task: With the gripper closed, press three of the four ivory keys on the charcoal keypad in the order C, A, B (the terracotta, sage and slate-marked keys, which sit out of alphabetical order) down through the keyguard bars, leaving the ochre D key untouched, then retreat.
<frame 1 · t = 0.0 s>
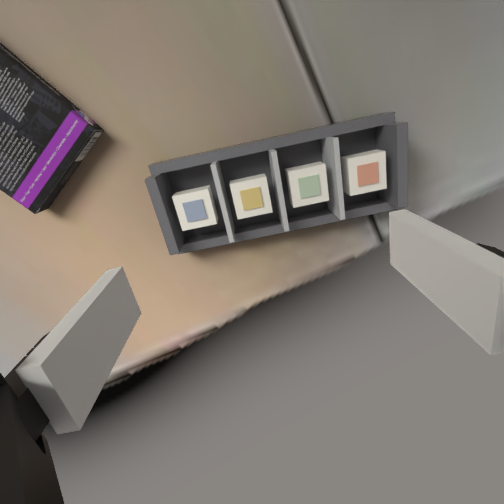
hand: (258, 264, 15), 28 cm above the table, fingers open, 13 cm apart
keypad: (275, 184, 41), on the table
key a: (307, 184, 37), point 4 cm above the table, slide at 0.0 cm
box: (7, 115, 37), on the table
key d: (251, 196, 37), point 4 cm above the table, slide at 0.0 cm
key b: (196, 208, 38), point 4 cm above the table, slide at 0.0 cm
key c: (363, 172, 37), point 4 cm above the table, slide at 0.0 cm
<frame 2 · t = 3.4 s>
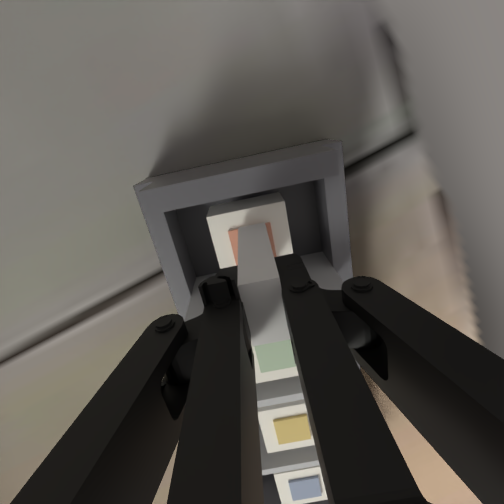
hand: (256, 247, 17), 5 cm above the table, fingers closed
keypad: (275, 340, 25), on the table
key a: (273, 341, 20), point 4 cm above the table, slide at 0.0 cm
key d: (289, 414, 23), point 4 cm above the table, slide at 0.0 cm
key b: (302, 471, 25), point 4 cm above the table, slide at 0.0 cm
key c: (252, 238, 18), point 3 cm above the table, slide at 1.1 cm, touching gripper
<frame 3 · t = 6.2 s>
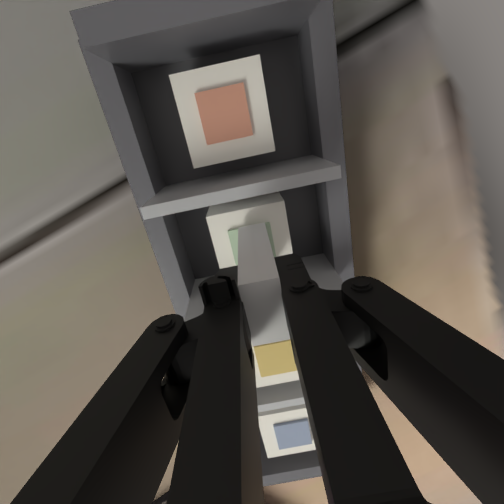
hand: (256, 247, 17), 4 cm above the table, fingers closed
keypad: (259, 268, 22), on the table
key a: (251, 238, 18), point 3 cm above the table, slide at 1.5 cm, touching gripper
key d: (274, 344, 20), point 4 cm above the table, slide at 0.0 cm
key b: (290, 418, 22), point 4 cm above the table, slide at 0.0 cm
key c: (225, 115, 16), point 2 cm above the table, slide at 1.9 cm
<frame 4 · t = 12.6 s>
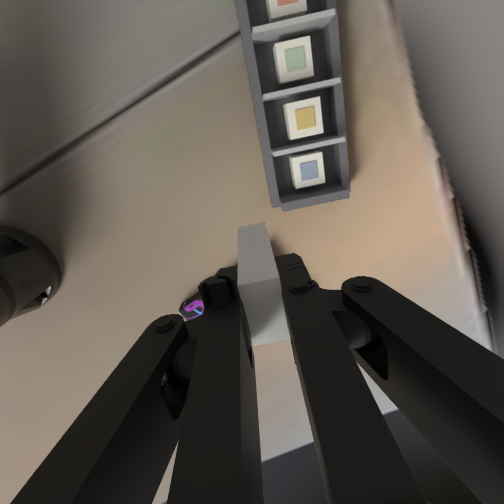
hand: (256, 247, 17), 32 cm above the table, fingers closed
keypad: (294, 93, 43), on the table
key a: (293, 61, 39), point 2 cm above the table, slide at 1.9 cm
box: (244, 299, 57), on the table
key d: (303, 118, 40), point 4 cm above the table, slide at 0.0 cm
key b: (307, 169, 45), point 2 cm above the table, slide at 1.9 cm
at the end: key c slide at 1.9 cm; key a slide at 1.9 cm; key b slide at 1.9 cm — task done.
